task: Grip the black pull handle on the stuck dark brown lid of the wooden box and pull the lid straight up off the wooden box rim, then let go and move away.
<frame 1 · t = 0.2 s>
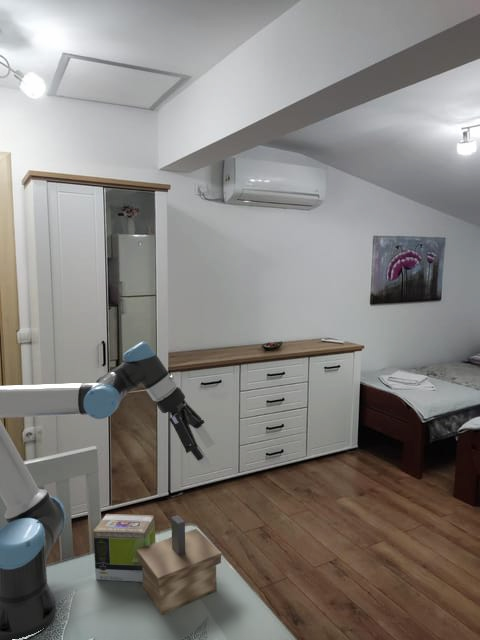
hand: (210, 456, 130), 35 cm above the table, tool tilted 35°, fingers open, 13 cm apart
lid: (178, 540, 126), point 14 cm above the table, slide at 0.0 cm
tea box: (126, 571, 136), on the table
wooden box: (179, 589, 127), on the table
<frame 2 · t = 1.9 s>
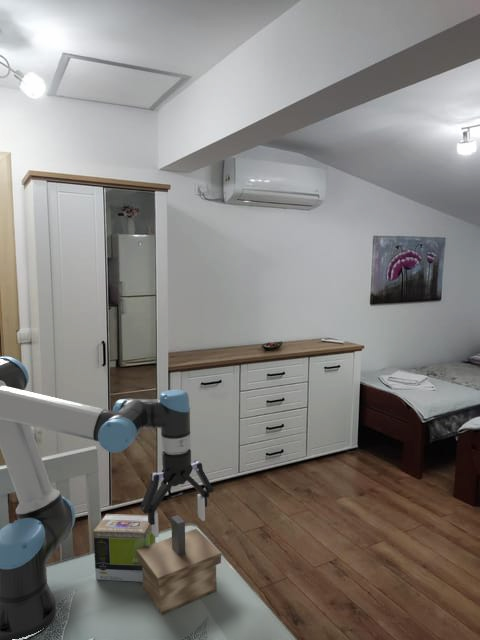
hand: (179, 526, 126), 18 cm above the table, tool pointing down, fingers open, 13 cm apart
nothing on the table moved.
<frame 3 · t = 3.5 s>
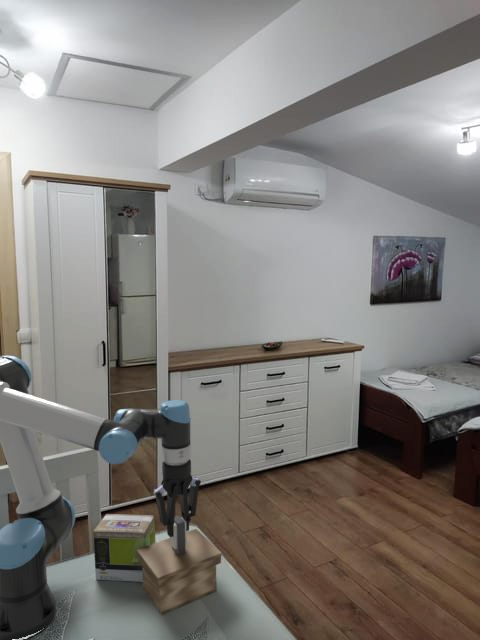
hand: (178, 544, 126), 13 cm above the table, tool pointing down, fingers closed on lid, 2 cm apart
lid: (178, 540, 126), point 14 cm above the table, slide at 0.0 cm, touching gripper
everything else where it was.
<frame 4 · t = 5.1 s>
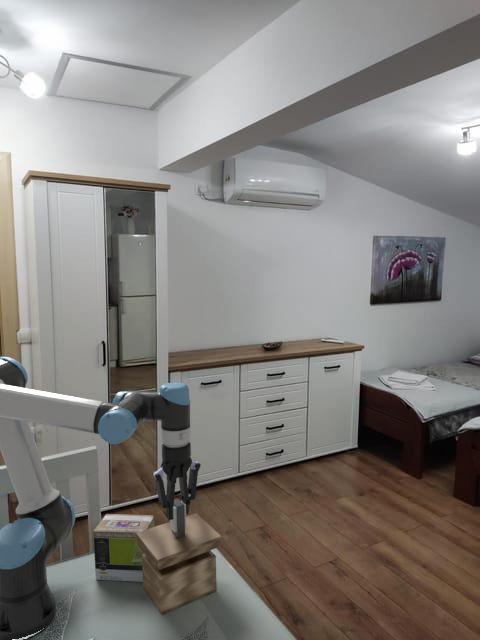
hand: (178, 527, 126), 18 cm above the table, tool pointing down, fingers closed on lid, 2 cm apart
lid: (178, 523, 125), point 19 cm above the table, slide at 4.7 cm, touching gripper
everything else where it was.
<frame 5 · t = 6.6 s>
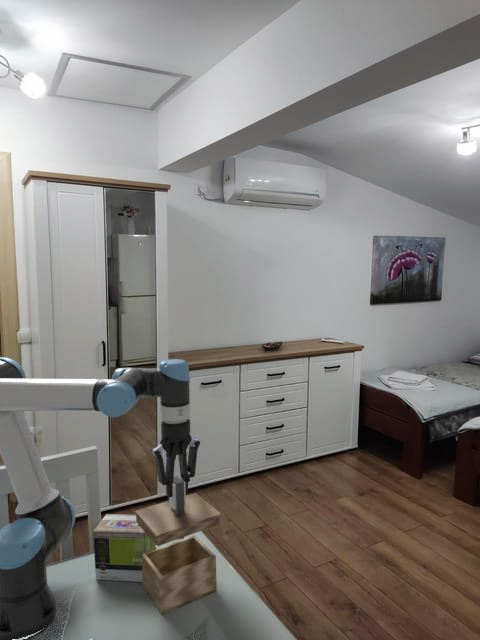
hand: (177, 505, 125), 24 cm above the table, tool pointing down, fingers closed on lid, 2 cm apart
lid: (177, 501, 125), point 25 cm above the table, slide at 11.0 cm, touching gripper
everything else where it was.
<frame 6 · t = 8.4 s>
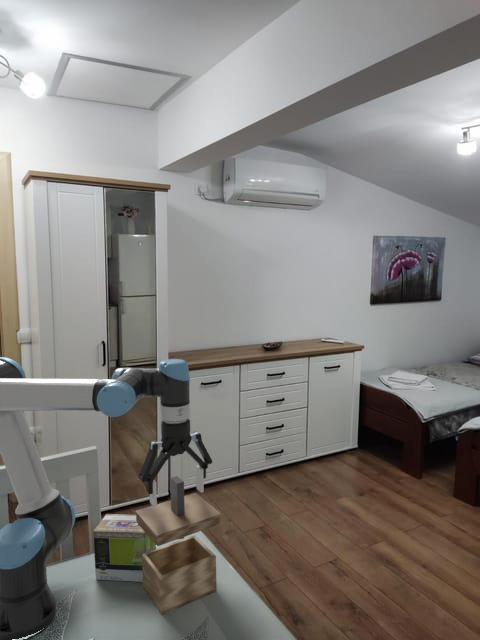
hand: (177, 497, 125), 26 cm above the table, tool pointing down, fingers open, 13 cm apart
lid: (177, 501, 125), point 25 cm above the table, slide at 11.0 cm
everything else where it was.
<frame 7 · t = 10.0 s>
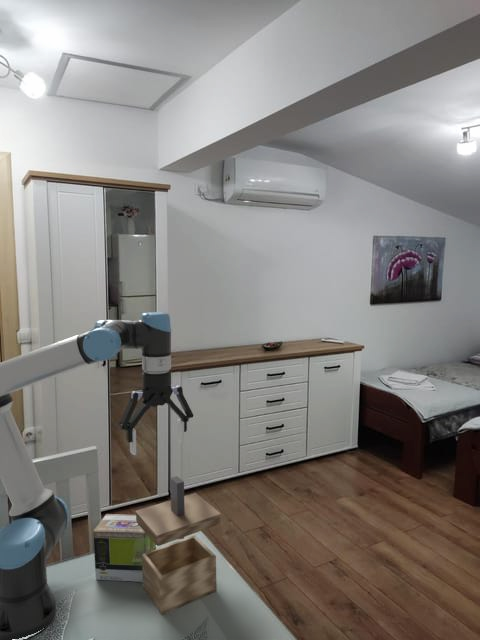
hand: (157, 448, 127), 38 cm above the table, tool pointing down, fingers open, 13 cm apart
nothing on the table moved.
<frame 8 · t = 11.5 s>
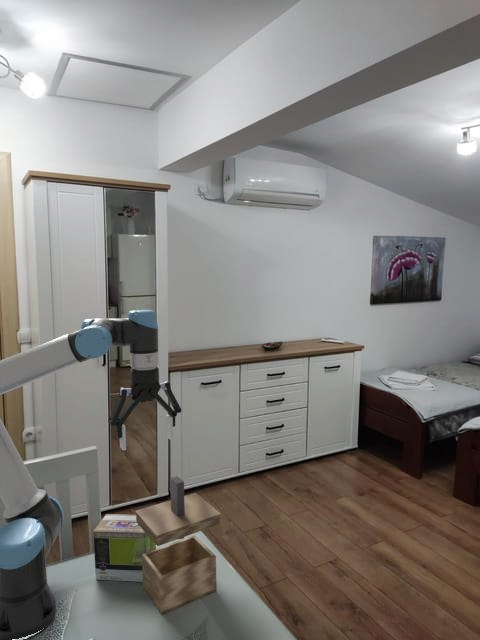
hand: (147, 443, 129), 39 cm above the table, tool pointing down, fingers open, 13 cm apart
nothing on the table moved.
at the end: lid slide at 11.0 cm; tea box moved 0.3 cm from its start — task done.
